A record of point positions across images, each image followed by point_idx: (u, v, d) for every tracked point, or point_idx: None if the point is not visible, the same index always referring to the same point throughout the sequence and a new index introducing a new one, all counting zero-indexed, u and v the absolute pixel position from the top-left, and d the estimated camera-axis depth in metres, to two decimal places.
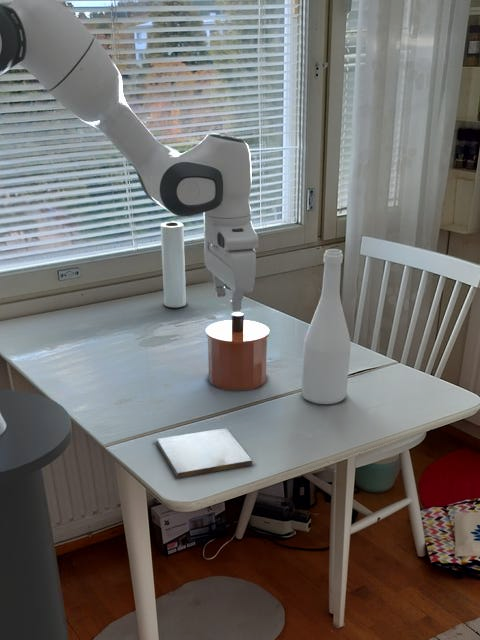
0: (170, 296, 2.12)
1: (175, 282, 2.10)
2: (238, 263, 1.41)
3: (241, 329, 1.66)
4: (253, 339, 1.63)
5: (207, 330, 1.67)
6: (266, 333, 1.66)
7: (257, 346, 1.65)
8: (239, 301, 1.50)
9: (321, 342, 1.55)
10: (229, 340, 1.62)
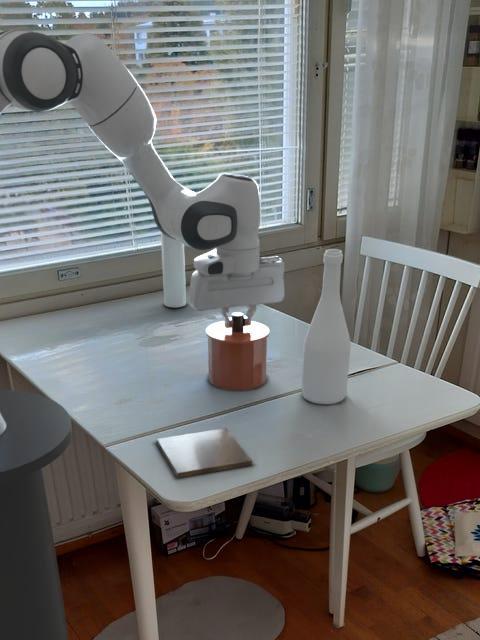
0: (170, 296, 2.12)
1: (175, 282, 2.10)
2: (191, 281, 1.59)
3: (241, 329, 1.66)
4: (253, 339, 1.63)
5: (207, 330, 1.67)
6: (266, 333, 1.66)
7: (257, 346, 1.65)
8: (225, 319, 1.65)
9: (321, 342, 1.55)
10: (229, 340, 1.62)
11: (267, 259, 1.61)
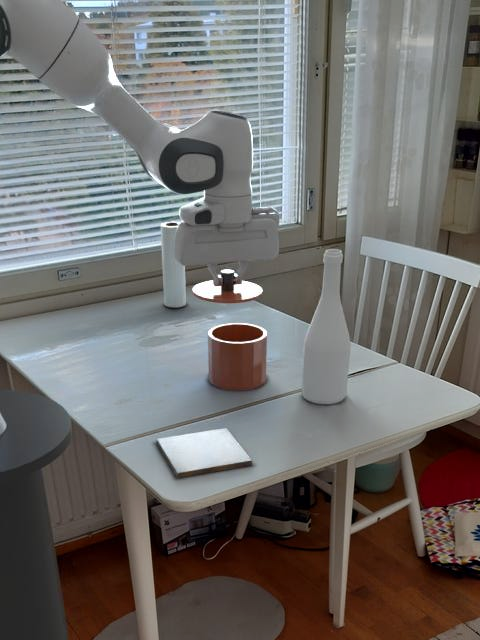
0: (170, 296, 2.12)
1: (175, 282, 2.10)
2: (177, 232, 1.45)
3: (231, 288, 1.52)
4: (244, 298, 1.48)
5: (194, 289, 1.52)
6: (259, 292, 1.51)
7: (257, 346, 1.65)
8: (214, 277, 1.50)
9: (321, 342, 1.55)
10: (218, 299, 1.48)
11: (260, 209, 1.46)
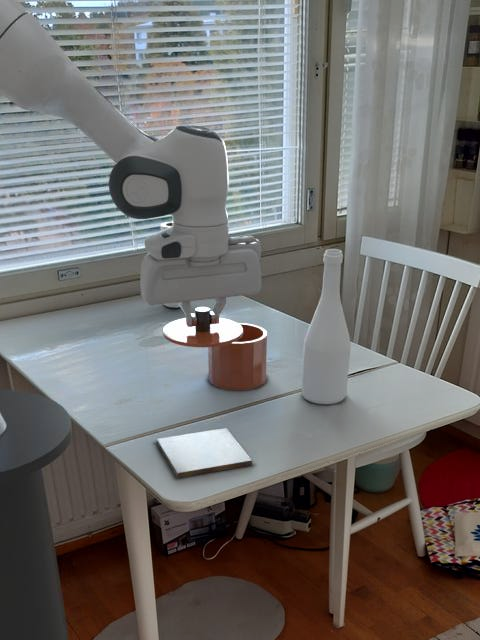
0: None
1: None
2: (142, 267, 1.25)
3: (207, 328, 1.32)
4: (221, 341, 1.29)
5: (165, 329, 1.33)
6: (238, 333, 1.32)
7: (257, 346, 1.65)
8: (187, 316, 1.31)
9: (321, 342, 1.55)
10: (191, 342, 1.28)
11: (239, 239, 1.27)
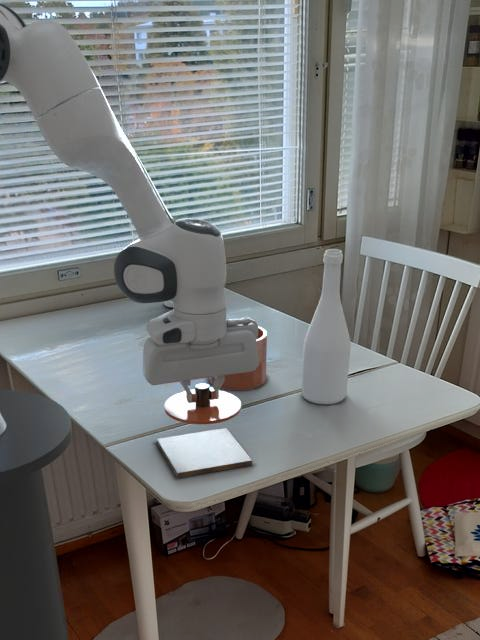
0: None
1: None
2: (144, 349, 1.31)
3: (207, 404, 1.38)
4: (221, 418, 1.34)
5: (166, 405, 1.39)
6: (237, 409, 1.37)
7: (257, 346, 1.65)
8: (187, 393, 1.36)
9: (321, 342, 1.55)
10: (191, 419, 1.34)
11: (236, 321, 1.32)
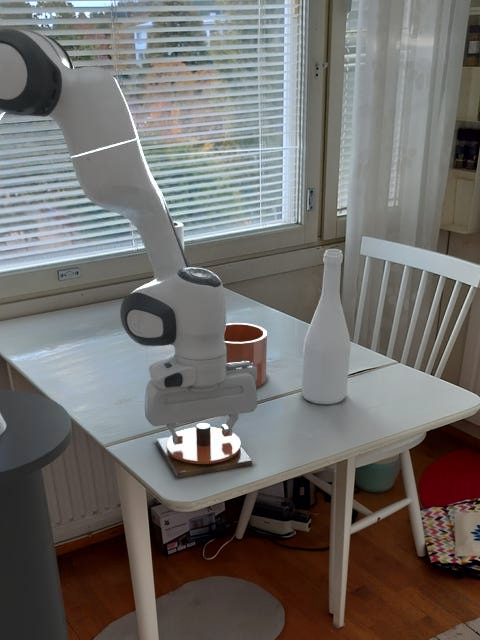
0: None
1: None
2: (146, 391, 1.35)
3: (207, 443, 1.42)
4: (221, 457, 1.39)
5: (168, 443, 1.43)
6: (237, 448, 1.42)
7: (257, 346, 1.65)
8: (173, 435, 1.39)
9: (321, 342, 1.55)
10: (192, 459, 1.38)
11: (236, 365, 1.36)
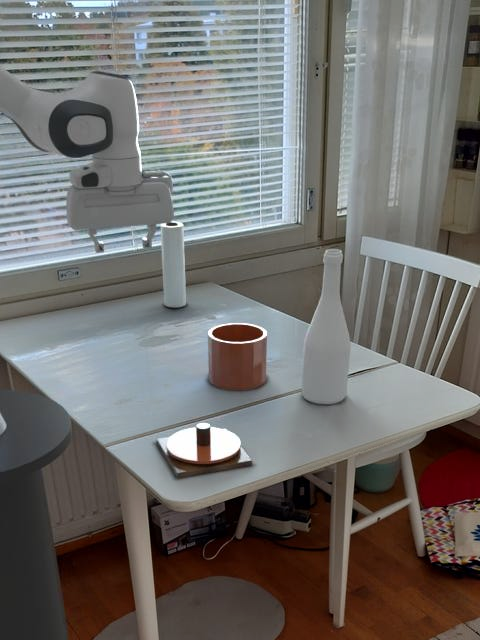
0: (170, 296, 2.12)
1: (175, 282, 2.10)
2: (67, 196, 1.45)
3: (207, 443, 1.42)
4: (221, 457, 1.39)
5: (168, 443, 1.43)
6: (237, 448, 1.42)
7: (257, 346, 1.65)
8: (94, 243, 1.49)
9: (321, 342, 1.55)
10: (192, 459, 1.38)
11: (151, 173, 1.46)
